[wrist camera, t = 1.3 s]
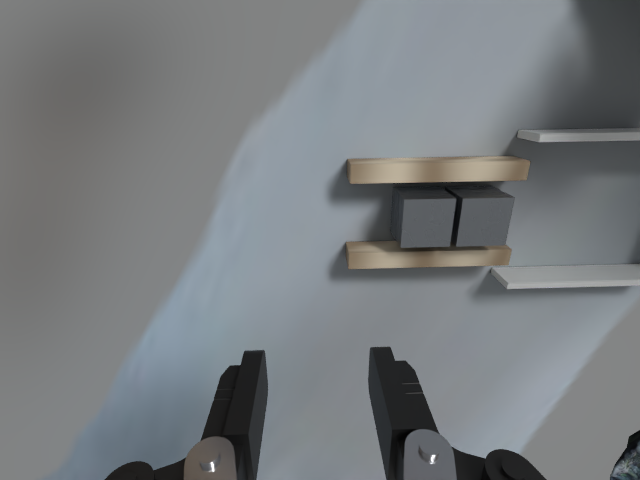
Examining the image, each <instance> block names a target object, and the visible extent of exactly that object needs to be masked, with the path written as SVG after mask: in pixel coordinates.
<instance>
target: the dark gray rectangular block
mask: <svg viewBox="0 0 640 480" xmlns="http://www.w3.org/2000/svg"><path fill="white" fill-rule="evenodd" d="M455 205H456V198H455V197H453V196H452V195H451V194H449V193H448V192H446V191H445V190H443V189H442V188H441V187H439V186H435V187H393V196H392V211H391V226H390V231H391V233H392V234H393V236H394V238H395V239H396V241H397V243H398V244H399V246H400V248H414V247H450V242H451V234H452V227H453V220H454V212H455Z"/></svg>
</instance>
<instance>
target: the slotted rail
mask: <svg viewBox="0 0 640 480" xmlns="http://www.w3.org/2000/svg"><path fill="white" fill-rule="evenodd" d="M530 162H531V161H528V160H525V159H522V158H518V157H515V156H486V157H431V158H376V159H347V178H348V180H349V182H350V184H365V183H416V182H467V181H518V180H527V176H528V171H529V166H530ZM511 251H512V249H511V248H509V247H508V246H507V245H503V246H462V247H456V246H455V245H454V244H453V243H452V242H450V247H414V248H400V246H399V244H398V243H397V241H365V242H346V260H347V264H348V269H373V268H413V267H454V266H494V265H509V260H510V256H511Z"/></svg>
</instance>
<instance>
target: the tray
mask: <svg viewBox="0 0 640 480" xmlns="http://www.w3.org/2000/svg"><path fill="white" fill-rule="evenodd" d="M517 138H521V139H526V140H531V141H536V142H578V141H635V140H640V128H609V129H549V130H518V135H517ZM491 274H492V275H493V276H494V277H495V278H496V279H497V280H498V281H499V282H500V283H501V284H502V285H503V286H504V287H505V288H506V289H526V288H564V287H602V286H640V264H613V265H573V266H532V267H492V269H491Z"/></svg>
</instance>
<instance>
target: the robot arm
mask: <svg viewBox="0 0 640 480" xmlns="http://www.w3.org/2000/svg"><path fill="white" fill-rule="evenodd" d="M368 384H369V394H370V400H371V405H372V410H373V415H374V420H375V425H376V430H377V435H378V440H379V445H380V450H381V454H382V459H383V464H384V469H385V474H386V479H387V480H546V479H545V478H544V477H543V476H542V475H541V474H540V473H539V471H537V469H536V468H535V467H534V466H533V465H532V464H531V463H529V461H528V460H526V459H525V458H524V457H522V456H521V455H519V454H517V453H515V452H512V451H509V450H504V449H498V450H494V451H492V452H490V453H489V454H488V455H487V457H486V459H485V458H481V457H478V456H474V455H470V454H466V453H463V452H461V451H458V450H456V449H455V448H453V447H452V446H451V445H450V444H449V442H448V441H447V440H446V439H445V438H444V437H443V436H441V435H440V434H439V432H438V430H437V427H436V425H435V422H434V420H433V417H432V414H431V412H430V409H429V406H428V404H427V401H426V399H425V396H424V394H423V391H422V388H421V386H420V384H419V380H418V378H417V375H416V372H415V370H414V369H413V368H412V367H411V366H410V365H409V364H408V363H407V362H406V361H395V359H394V356H393V353H392V350H391V348H390V347H371V348H370V357H369V377H368ZM267 396H268V379H267V368H266V357H265V351H264V350H256V351H244V354H243V358H242V362H241V365H234V366H229V367H228V368H227V370H226V371H225V372H224V373H223V374H222V376H221V378H220V381H219V384H218V387H217V391H216V394H215V397H214V401H213V403H212V406H211V410H210V413H209V416H208V419H207V422H206V426H205V429H204V432H203V435H202V438H201V441H200V442H198V443H197V444H196V445H195V446H194V447H193V448H192V449H191V450H190V451H189V453H188V455H187V457H186V458H184V459H183V460H181V461H179V462H177V463H174V464H171V465H168V466H165V467H162V468H160V469H157V470H154V471H153V469H152V467H151V466H150V465H149V464H147V463H145V462H141V461H136V462H130V463H127V464H125V465H122V466H121V467H119V468H117V469H116V470H114V471H113V472H112V473H111V474H110V475H109V476H108V477H107V478H106V479H105V480H256V478H257V470H258V463H259V456H260V449H261V441H262V434H263V427H264V419H265V412H266V405H267Z"/></svg>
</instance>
